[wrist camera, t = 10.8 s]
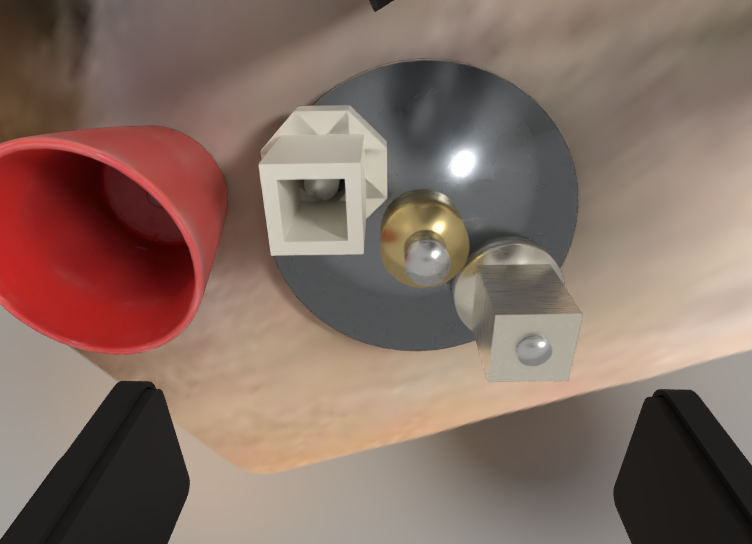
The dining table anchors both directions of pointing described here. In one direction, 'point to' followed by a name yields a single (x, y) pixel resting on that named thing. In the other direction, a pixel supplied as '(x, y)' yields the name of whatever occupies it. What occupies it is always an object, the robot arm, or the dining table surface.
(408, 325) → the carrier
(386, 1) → the car wheel rim
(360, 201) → the open ended square duct
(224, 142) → the dining table surface
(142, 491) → the robot arm
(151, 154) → the flower pot
